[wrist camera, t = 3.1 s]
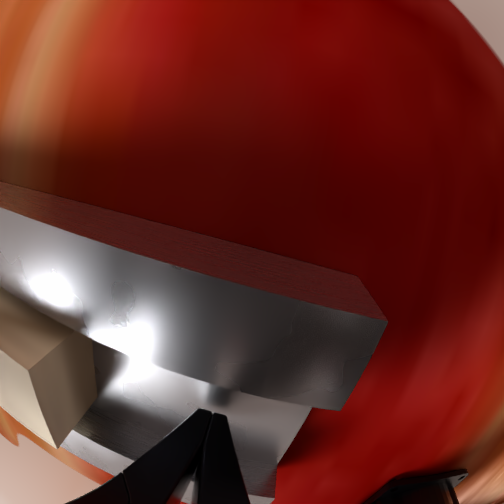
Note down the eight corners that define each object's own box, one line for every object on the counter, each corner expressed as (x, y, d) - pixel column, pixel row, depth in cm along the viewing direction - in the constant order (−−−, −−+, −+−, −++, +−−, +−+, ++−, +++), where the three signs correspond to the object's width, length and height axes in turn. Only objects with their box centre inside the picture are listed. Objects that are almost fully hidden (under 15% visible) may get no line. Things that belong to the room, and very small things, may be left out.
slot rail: (357, 276, 7) (388, 321, 5) (262, 472, 10) (256, 517, 7) (-48, 169, 8) (-81, 174, 6) (-35, 321, 11) (-59, 337, 8)
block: (91, 317, 7) (28, 370, 5) (97, 396, 8) (57, 449, 6) (13, 277, 8) (-45, 307, 5) (25, 353, 9) (-18, 389, 6)
